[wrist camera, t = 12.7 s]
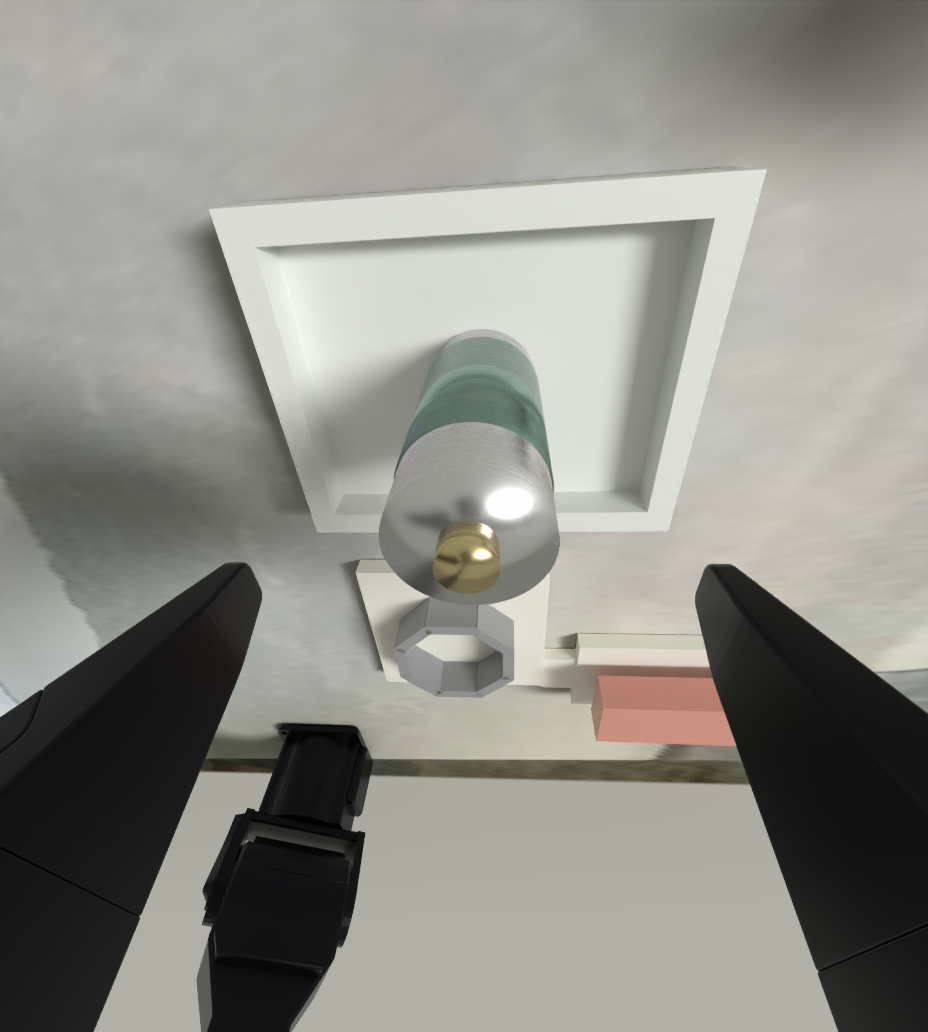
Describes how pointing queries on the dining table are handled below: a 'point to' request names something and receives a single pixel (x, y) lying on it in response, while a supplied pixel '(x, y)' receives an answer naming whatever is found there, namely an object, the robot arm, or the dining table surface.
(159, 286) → the dining table surface
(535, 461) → the silver cell
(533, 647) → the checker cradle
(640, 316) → the white rectangular tray
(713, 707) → the bar
